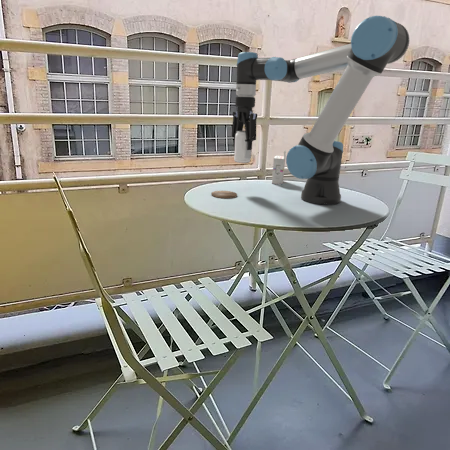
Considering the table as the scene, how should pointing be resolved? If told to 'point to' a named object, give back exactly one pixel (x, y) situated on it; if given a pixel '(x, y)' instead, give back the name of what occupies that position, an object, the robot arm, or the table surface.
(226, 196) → the coaster
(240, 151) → the can
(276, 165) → the ink cartridge box
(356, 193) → the table surface
